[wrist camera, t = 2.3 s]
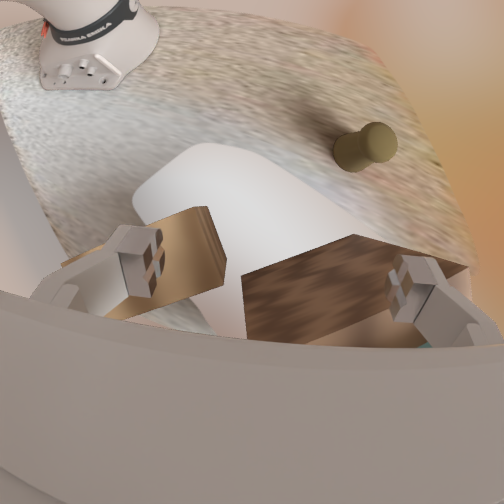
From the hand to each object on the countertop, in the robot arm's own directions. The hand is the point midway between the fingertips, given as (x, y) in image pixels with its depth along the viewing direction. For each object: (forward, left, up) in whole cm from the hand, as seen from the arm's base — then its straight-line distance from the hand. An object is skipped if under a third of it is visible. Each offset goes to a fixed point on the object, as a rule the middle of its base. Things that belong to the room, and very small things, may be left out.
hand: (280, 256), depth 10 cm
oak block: (-12, -5, -34) cm, 36 cm away
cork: (+16, +10, -34) cm, 39 cm away
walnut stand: (+10, -11, -34) cm, 37 cm away
